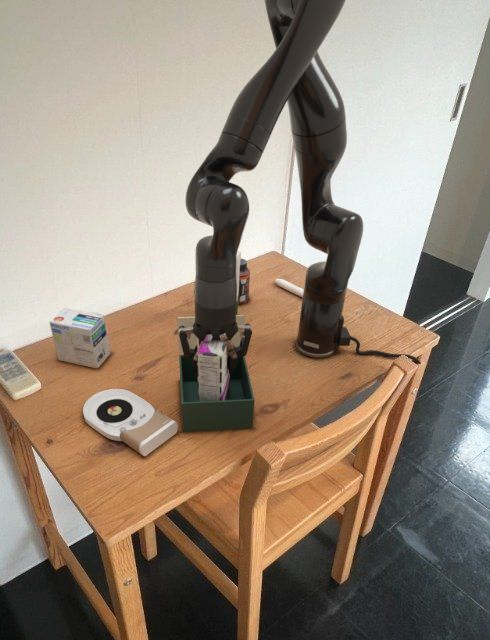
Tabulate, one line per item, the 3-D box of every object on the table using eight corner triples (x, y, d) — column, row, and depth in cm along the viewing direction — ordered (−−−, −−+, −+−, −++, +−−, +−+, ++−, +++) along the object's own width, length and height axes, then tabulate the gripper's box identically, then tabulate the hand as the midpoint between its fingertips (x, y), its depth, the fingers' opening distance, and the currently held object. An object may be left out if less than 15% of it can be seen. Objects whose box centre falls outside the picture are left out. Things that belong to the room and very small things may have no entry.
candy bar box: (207, 384, 112) (207, 320, 102) (230, 387, 111) (232, 322, 101) (197, 418, 104) (195, 352, 93) (221, 422, 103) (223, 355, 92)
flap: (177, 317, 104) (177, 317, 105) (179, 352, 108) (179, 351, 109) (244, 315, 105) (244, 314, 105) (243, 349, 109) (243, 349, 109)
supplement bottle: (248, 305, 139) (251, 266, 131) (226, 305, 139) (228, 266, 132) (247, 294, 143) (250, 256, 136) (226, 294, 143) (227, 256, 136)
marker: (272, 284, 148) (272, 276, 146) (277, 282, 149) (278, 274, 147) (320, 308, 137) (322, 300, 136) (325, 306, 138) (327, 298, 137)
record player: (136, 449, 94) (70, 402, 104) (138, 461, 96) (72, 414, 106) (181, 417, 100) (114, 376, 111) (182, 429, 102) (116, 387, 113)
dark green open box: (182, 432, 102) (181, 403, 97) (180, 382, 114) (179, 354, 109) (252, 428, 102) (254, 400, 98) (242, 379, 114) (243, 352, 110)
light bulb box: (111, 353, 122) (105, 314, 115) (98, 369, 117) (91, 329, 110) (71, 345, 125) (63, 306, 118) (57, 360, 120) (47, 321, 113)
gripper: (175, 308, 88) (179, 385, 99) (258, 305, 89) (253, 382, 100) (174, 287, 94) (178, 362, 105) (252, 285, 95) (248, 359, 106)
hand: (214, 371), depth 102 cm, fingers closed on candy bar box, 5 cm apart
